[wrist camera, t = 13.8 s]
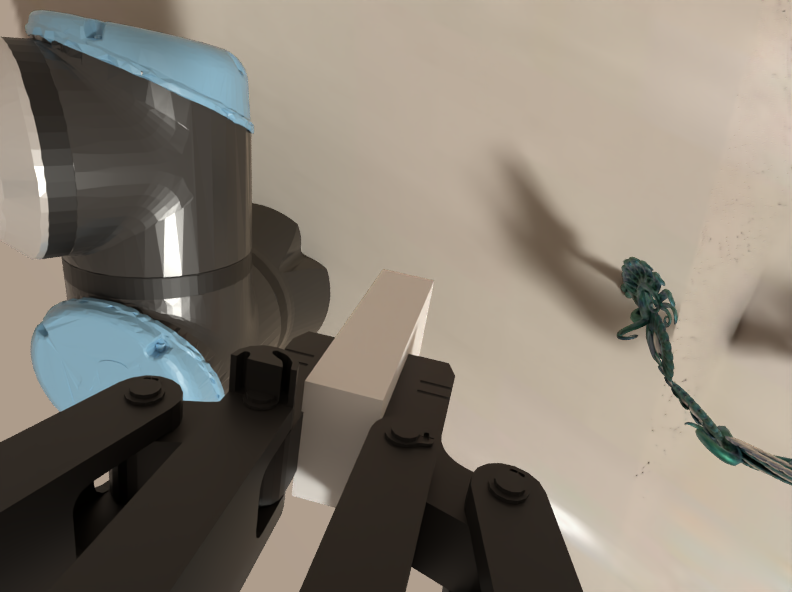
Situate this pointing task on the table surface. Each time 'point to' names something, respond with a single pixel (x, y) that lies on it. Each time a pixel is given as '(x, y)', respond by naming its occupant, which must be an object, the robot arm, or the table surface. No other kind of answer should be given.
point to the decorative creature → (715, 439)
